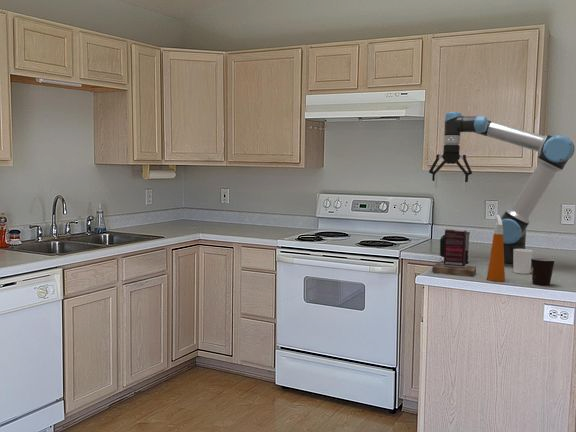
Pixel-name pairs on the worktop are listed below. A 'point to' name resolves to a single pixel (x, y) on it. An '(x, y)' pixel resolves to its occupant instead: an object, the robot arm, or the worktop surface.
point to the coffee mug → (542, 270)
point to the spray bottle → (497, 254)
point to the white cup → (522, 260)
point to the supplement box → (455, 248)
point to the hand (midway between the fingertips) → (449, 188)
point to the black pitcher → (443, 246)
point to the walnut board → (454, 270)
